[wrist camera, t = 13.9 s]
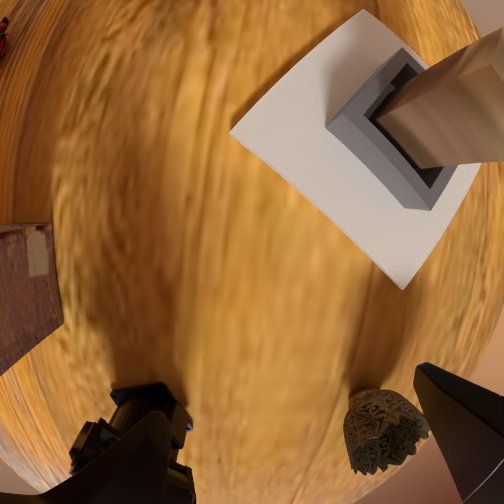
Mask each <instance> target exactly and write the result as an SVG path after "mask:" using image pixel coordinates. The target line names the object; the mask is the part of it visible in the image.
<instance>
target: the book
mask: <svg viewBox="0 0 504 504" xmlns="http://www.w3.org/2000/svg"><path fill="white" fill-rule="evenodd" d="M63 323H64V321H63V316H62V311H61V305H60V299H59V293H58V286H57V279H56V270H55V261H54V249H53V231H52V223H27V224H0V376H1V375H2V374H4V373H5V372H6V371H7V370H8V369H9V368H10V367H11V366H13V365H14V364H15V363H16V362H17V361H18V360H20V359H21V358H22V357H23V356H24V355H25V354H27V353H28V352H29V351H30V350H31V349H33V348H34V347H35V346H36V345H37V344H39V343H40V342H41V341H42V340H44V339H45V338H46V337H47V336H49V335H50V334H51V333H52V332H53V331H55V330H56V329H57V328H59V327H60V326H61V325H62V324H63Z"/></svg>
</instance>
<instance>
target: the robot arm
mask: <svg viewBox="0 0 504 504" xmlns="http://www.w3.org/2000/svg"><path fill="white" fill-rule="evenodd" d="M413 385H414V389H415V391H416V394H417V397H418V399H419V402H420V405H421V408H422V410H423V413H424V416H425V419H426V421H427V423H428V425H429V427H430V429H431V431H432V433H433V435H434V437H435V439H436V442H437V444H438V446H439V448H440V450H441V452H442V455H443V457H444V459H445V461H446V463H447V466H448V468H449V470H450V473H451V475H452V477H453V480H454V482H455V484H456V487H457V489H458V492H459V494H460V497H461V500H462V502H463V504H504V396H500V395H499V394H496V393H494V392H492V391H490V390H488V389H485V388H483V387H481V386H479V385H476V384H474V383H472V382H470V381H468V380H465V379H463V378H461V377H459V376H457V375H455V374H452V373H450V372H448V371H446V370H444V369H442V368H439V367H437V366H435V365H433V364H431V363H429V362H424V363H422V364H419V365H417V366H416V369H415V375H414V381H413ZM160 387H162V388H163V389H161V388H160ZM115 395H116V396H115ZM110 396H111V398H112V399H113V401H114V402H115V403H116V405H117V406H118V407H117V409H116V411H115V412H114V414H113V416H112V418H111V420H110V422H109V424H108V423H107V422H106V421H105V420H104V419H102V418H101V417H100V419H99V420H98V421H97V423H96V422H94V423H93V422H88V421H86V423H85V425H84V426H83V428H82V430H81V431H80V433H79V435H78V436H77V438H76V440H75V442H74V444H73V445H72V447H71V449H70V451H69V455H70V458H71V460H72V462H71V466H72V467H71V469H70V472H69V474H71V475H72V477H70V478H68V479H67V480H65V481H64V482H62V483H60V484H59V485H57V486H55V487H54V488H52V489H50V490H48V491H47V492H45V493H42V494H38V495H23V494H12V493H3V492H0V504H196V494H195V488H194V482H193V475H192V469H191V468H190V467H187V466H183V465H181V464H179V463H177V462H176V461H177V456H178V452H179V449H182V448H183V447H184V442H185V437H186V432H190V431H192V430H193V425H192V423H191V422H190V421H189V417H188V416H187V415H186V413H185V412H184V410H183V409H182V407H181V406H180V404H179V403H178V401H176V400H175V398H174V397H173V395H172V394H171V392H170V391H169V389H168V387H167V386H166V385H165V384H164V383H161V382H159V383H154V384H148V385H143V386H137V387H131V388H125V389H118V390H113V391H112V392H111V393H110Z"/></svg>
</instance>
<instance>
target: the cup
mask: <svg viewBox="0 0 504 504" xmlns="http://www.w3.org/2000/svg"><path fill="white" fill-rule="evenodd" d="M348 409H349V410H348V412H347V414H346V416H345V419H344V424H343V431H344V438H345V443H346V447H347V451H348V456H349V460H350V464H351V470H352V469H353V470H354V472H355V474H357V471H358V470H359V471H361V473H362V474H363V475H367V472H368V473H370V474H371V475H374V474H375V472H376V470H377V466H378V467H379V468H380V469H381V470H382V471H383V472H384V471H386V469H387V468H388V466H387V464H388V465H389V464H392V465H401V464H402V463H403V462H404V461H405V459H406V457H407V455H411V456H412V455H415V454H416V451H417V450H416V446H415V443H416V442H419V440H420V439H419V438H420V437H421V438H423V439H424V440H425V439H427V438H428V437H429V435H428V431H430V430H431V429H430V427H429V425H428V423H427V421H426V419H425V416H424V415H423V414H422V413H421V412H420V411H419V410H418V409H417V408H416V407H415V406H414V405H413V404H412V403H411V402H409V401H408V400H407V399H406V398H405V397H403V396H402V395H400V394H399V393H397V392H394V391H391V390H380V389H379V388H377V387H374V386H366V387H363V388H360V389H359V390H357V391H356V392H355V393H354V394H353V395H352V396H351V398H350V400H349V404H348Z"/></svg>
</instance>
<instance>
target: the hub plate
mask: <svg viewBox="0 0 504 504" xmlns="http://www.w3.org/2000/svg"><path fill="white" fill-rule="evenodd" d="M428 68H430V67H429V66H428V65H427V64H426V63H425V62H424V61H423V60H422V59H421V58H420V57H419V56H418V55H417V54H416V53H415V52H414V51H413V50H412V49H411V48H410V47H409V46H408V45H407V44H406V43H405V42H404V41H402V40H401V39H400V38H399V37H398V36H397V35H396V34H395V33H393V32H392V31H391V30H390V29H389V28H388V27H386V26H385V25H384V24H383V23H382V22H380V21H379V20H378V19H377V18H375V17H374V16H373V15H371V14H370V13H369V12H367V11H366V10H365V9H362V10H361V11H359V12H358V13H357V14H355V15H354V16H353V17H351V18H350V19H349V20H347V21H346V22H345V23H344V24H342V25H341V26H340V27H339V28H337V29H336V30H335V31H334V32H332V33H331V34H330V35H329V36H328V37H326V38H325V39H324V40H323V41H322V42H320V43H319V44H318V45H317V46H316V47H315V48H314V49H312V50H311V51H310V52H309V53H308V54H307V55H306V56H304V57H303V58H302V59H301V60H300V61H299V62H298V63H297V64H296V65H295V66H294V67H292V68H291V69H290V70H289V71H288V72H287V73H286V74H285V75H284V76H283V77H282V78H281V79H280V80H279V81H278V82H277V83H276V84H275V85H274V86H273V87H272V88H271V89H270V90H269V91H268V92H267V93H266V94H265V95H264V96H263V97H262V98H261V99H260V100H259V101H258V102H257V103H256V104H255V105H254V106H253V107H252V108H251V109H250V110H249V111H248V112H247V113H246V114H245V116H244V117H243V118H242V119H241V120H240V121H239V122H238V123H237V124H236V125H235V126H234V128H233V129H232V130H231V131H230V132H229V133H230V136H231V137H233V138H234V139H235V140H237V141H238V142H239V143H240V144H242V145H243V146H244V147H245V148H247V149H248V150H249V151H251V152H252V153H253V154H254V155H256V156H257V157H258V158H259V159H261V160H262V161H263V162H264V163H265V164H267V165H268V166H269V167H270V168H272V169H273V170H274V171H275V172H276V173H278V174H279V175H280V176H281V177H282V178H283V179H285V180H286V181H287V182H288V183H289V184H291V185H292V186H293V187H294V188H295V189H296V190H297V191H299V192H300V193H301V194H302V195H303V196H304V197H305V198H307V199H308V200H309V201H310V202H311V203H312V204H313V205H314V206H316V207H317V208H318V209H319V210H320V211H321V212H322V213H323V214H324V215H325V216H326V217H328V218H329V219H330V220H331V221H332V222H333V223H334V224H335V225H336V226H337V227H338V228H339V229H340V230H341V231H342V232H344V233H345V234H346V235H347V236H348V237H349V238H350V239H351V240H352V241H353V242H354V243H355V244H356V245H357V246H358V247H359V248H360V249H361V250H362V251H363V252H364V253H365V254H366V255H367V256H368V257H369V258H370V259H371V260H372V261H373V262H374V263H375V264H376V265H377V266H378V267H379V268H380V269H381V270H382V271H383V272H384V273H385V274H386V275H387V277H388V278H389V279H390V280H391V281H392V282H393V283H394V284H395V285H396V286H397V287H398V288H400V289H402V290H404V289H405V287H406V286H407V285H408V283H409V282H410V281H411V279H412V278H413V277H414V275H415V274H416V273H417V271H418V270H419V268H420V267H421V266H422V264H423V263H424V261H425V260H426V259H427V257H428V256H429V254H430V253H431V251H432V250H433V248H434V247H435V245H436V244H437V242H438V241H439V239H440V238H441V236H442V234H443V233H444V231H445V230H446V228H447V226H448V225H449V223H450V221H451V220H452V218H453V216H454V215H455V213H456V211H457V210H458V208H459V206H460V204H461V202H462V201H463V199H464V197H465V195H466V193H467V191H468V190H469V188H470V186H471V184H472V182H473V180H474V178H475V176H476V174H477V172H478V170H479V168H480V165H481V163H472V164H461V165H451V166H441V167H432V168H424V169H416V170H414V169H413V168H412V167H411V165H410V164H409V163H408V162H407V161H406V160H405V158H404V157H403V156H402V155H401V154H400V153H399V152H398V150H397V149H396V148H395V147H394V146H393V145H392V144H391V143H390V142H389V141H388V140H387V139H386V137H385V136H384V135H383V134H382V133H381V132H380V131H379V130H378V129H377V128H376V127H375V126H374V125H373V124H372V123H371V122H370V121H369V120H368V118H369V117H370V116H371V115H372V113H373V112H374V111H375V110H376V108H377V107H378V106H379V105H380V104H381V102H382V101H383V100H384V99H385V97H386V96H387V95H388V94H389V93H390V92H392V91H393V90H395V89H396V88H398V87H399V86H401V85H402V84H404V83H406V82H407V81H409V80H410V79H412V78H414V77H415V76H417V75H418V74H420V73H422V72H423V71H425V70H427V69H428Z"/></svg>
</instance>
